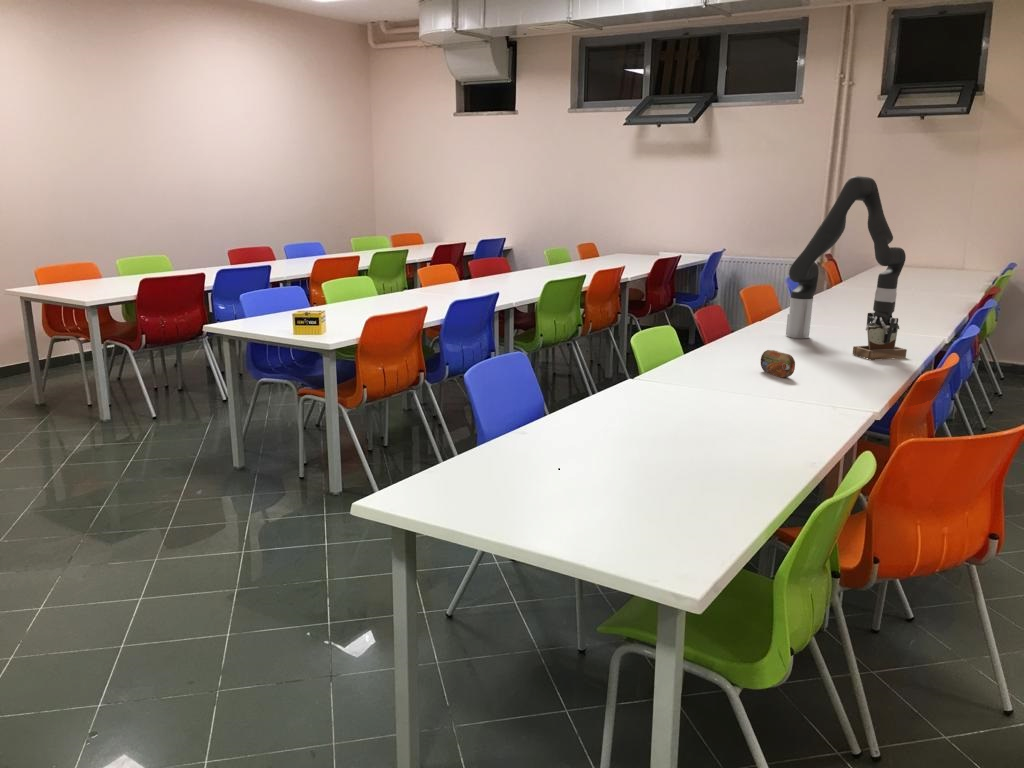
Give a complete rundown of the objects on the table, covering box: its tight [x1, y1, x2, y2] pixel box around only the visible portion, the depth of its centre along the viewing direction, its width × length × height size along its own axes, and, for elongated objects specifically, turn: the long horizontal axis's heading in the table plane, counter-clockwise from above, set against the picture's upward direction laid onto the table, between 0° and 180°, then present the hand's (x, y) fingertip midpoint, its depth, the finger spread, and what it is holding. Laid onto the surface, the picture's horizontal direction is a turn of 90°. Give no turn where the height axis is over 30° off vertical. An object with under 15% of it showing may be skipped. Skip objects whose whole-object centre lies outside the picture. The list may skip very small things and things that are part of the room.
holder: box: [852, 345, 908, 361], centre depth 312 cm, size 10×16×3 cm, turn 108°
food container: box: [865, 322, 900, 351], centre depth 311 cm, size 12×6×10 cm, turn 85°
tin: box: [760, 349, 796, 378], centre depth 280 cm, size 15×3×8 cm, turn 23°
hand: (879, 341), depth 311 cm, fingers closed on food container, 7 cm apart
